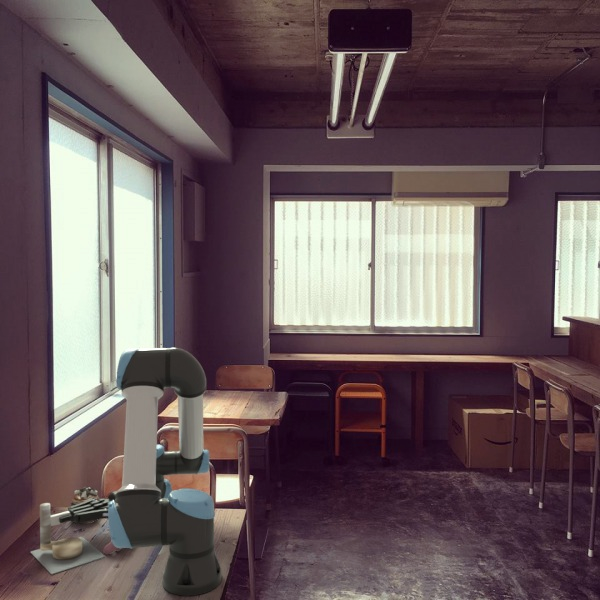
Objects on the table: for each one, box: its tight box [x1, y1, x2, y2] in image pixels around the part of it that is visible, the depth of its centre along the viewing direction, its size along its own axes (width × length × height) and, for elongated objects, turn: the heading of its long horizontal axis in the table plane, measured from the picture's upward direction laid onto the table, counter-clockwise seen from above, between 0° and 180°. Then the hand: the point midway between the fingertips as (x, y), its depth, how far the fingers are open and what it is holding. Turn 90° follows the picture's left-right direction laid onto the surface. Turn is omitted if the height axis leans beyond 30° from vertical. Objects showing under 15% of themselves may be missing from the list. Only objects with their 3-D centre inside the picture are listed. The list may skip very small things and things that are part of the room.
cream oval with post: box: [39, 502, 82, 560], centre depth 174 cm, size 12×8×14 cm
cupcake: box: [69, 485, 100, 524], centre depth 199 cm, size 10×10×10 cm
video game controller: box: [102, 540, 122, 555], centre depth 179 cm, size 10×5×7 cm, turn 169°
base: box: [30, 536, 106, 576], centre depth 174 cm, size 17×15×1 cm
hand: (46, 522), depth 177 cm, fingers closed
